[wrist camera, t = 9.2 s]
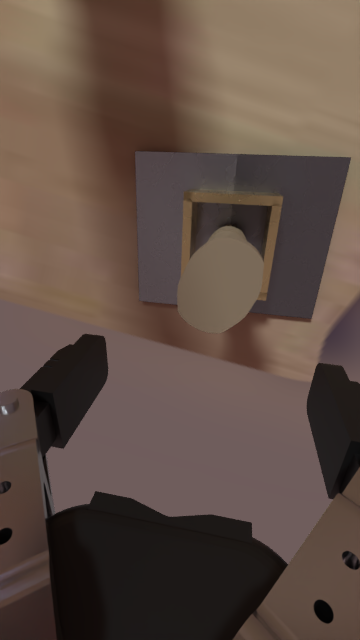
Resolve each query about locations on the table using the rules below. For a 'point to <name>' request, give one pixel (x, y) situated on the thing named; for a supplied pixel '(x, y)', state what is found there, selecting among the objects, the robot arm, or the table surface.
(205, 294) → the handle
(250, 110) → the table surface
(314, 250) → the square socket base
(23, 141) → the table surface
